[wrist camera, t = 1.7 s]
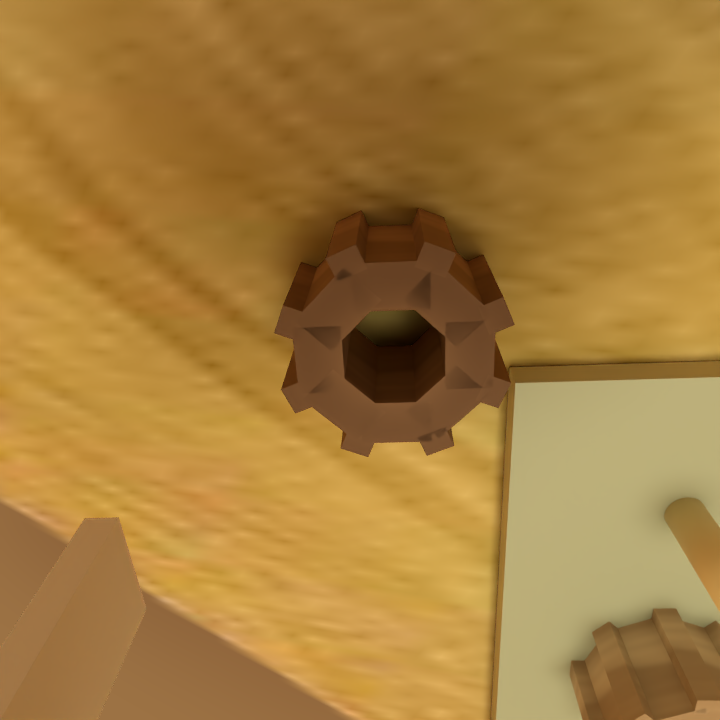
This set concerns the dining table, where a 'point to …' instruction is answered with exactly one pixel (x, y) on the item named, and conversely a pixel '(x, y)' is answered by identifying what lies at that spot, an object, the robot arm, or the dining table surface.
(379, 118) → the dining table surface
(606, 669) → the beech gear
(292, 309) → the walnut gear
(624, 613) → the gear board
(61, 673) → the robot arm
